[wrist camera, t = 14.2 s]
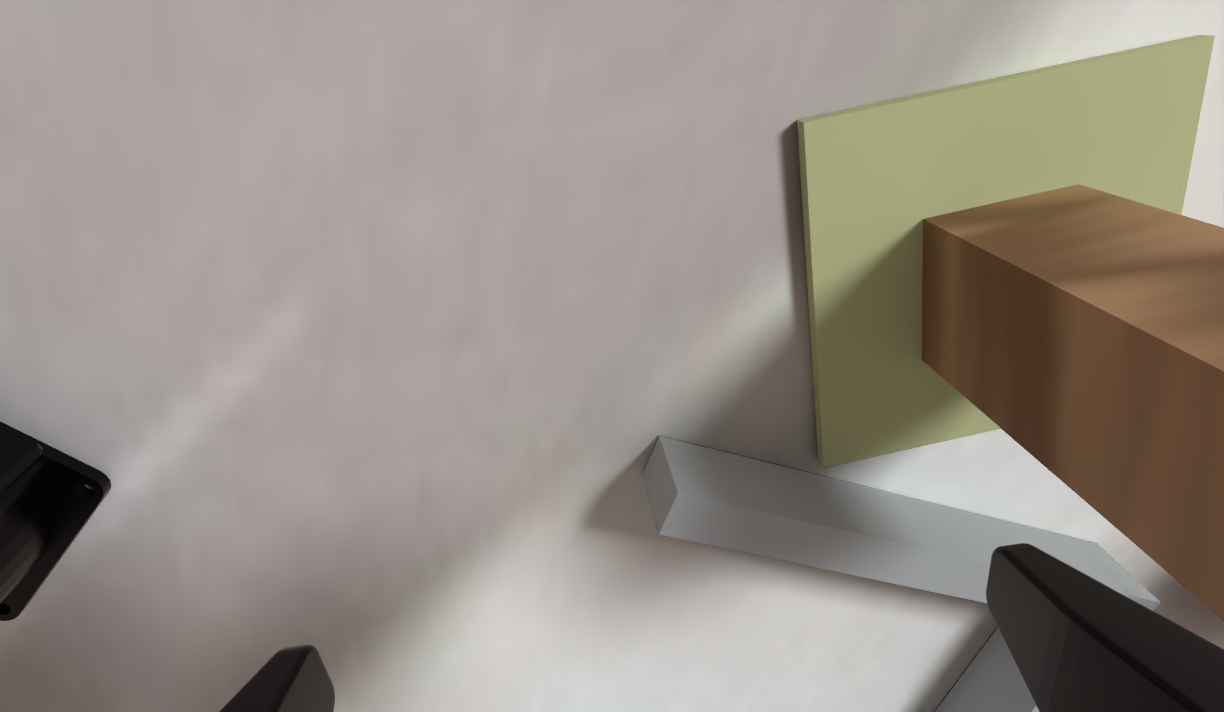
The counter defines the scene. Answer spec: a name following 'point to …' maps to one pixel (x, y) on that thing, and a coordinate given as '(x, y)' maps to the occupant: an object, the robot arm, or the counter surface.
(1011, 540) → the channel
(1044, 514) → the counter surface
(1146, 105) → the mat
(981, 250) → the walnut block
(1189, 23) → the counter surface
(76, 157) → the counter surface
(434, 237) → the counter surface
